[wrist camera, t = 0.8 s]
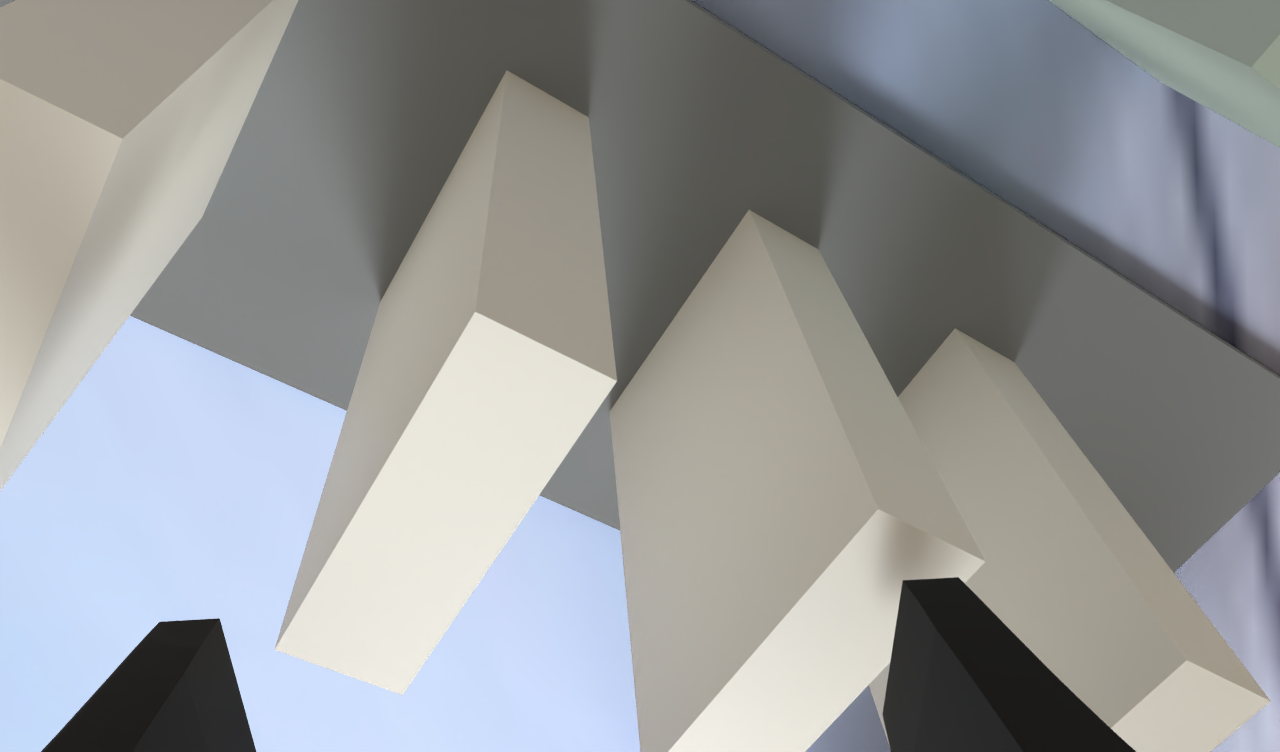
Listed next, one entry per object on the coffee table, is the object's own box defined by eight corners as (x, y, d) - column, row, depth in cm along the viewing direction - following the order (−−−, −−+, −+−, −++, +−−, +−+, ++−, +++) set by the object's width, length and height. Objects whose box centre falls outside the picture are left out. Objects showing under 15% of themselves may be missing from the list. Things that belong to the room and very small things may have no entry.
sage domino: (1013, -163, 17) (1385, -89, 10) (1222, 2, 19) (1684, 179, 11) (950, -72, 18) (1251, 67, 10) (1157, 80, 20) (1554, 299, 12)
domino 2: (588, 117, 19) (617, 380, 11) (457, 338, 21) (403, 694, 13) (506, 69, 18) (475, 311, 10) (380, 301, 20) (274, 648, 12)
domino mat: (1324, 404, 24) (1339, 416, 23) (1021, 694, 28) (1028, 709, 27) (69, -396, 15) (54, -401, 15) (-109, 193, 19) (-124, 204, 18)
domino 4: (1014, 362, 22) (1270, 701, 14) (865, 534, 24) (1017, 912, 16) (954, 328, 21) (1186, 660, 14) (807, 506, 23) (936, 884, 16)
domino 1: (315, -40, 17) (121, 138, 9) (202, 216, 19) (-35, 539, 11) (217, -96, 17) (-74, 42, 9) (111, 173, 19) (-204, 479, 11)
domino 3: (818, 249, 20) (986, 561, 12) (675, 443, 22) (744, 816, 14) (749, 209, 20) (877, 508, 12) (609, 411, 22) (643, 780, 14)
